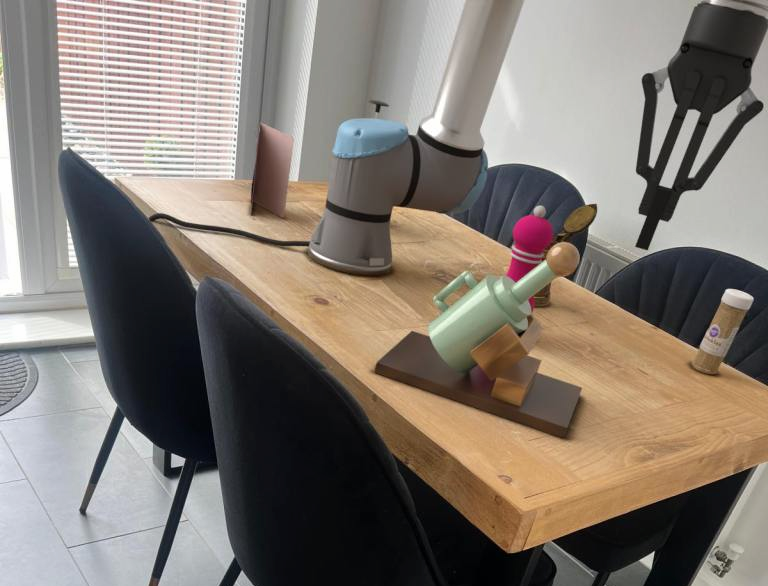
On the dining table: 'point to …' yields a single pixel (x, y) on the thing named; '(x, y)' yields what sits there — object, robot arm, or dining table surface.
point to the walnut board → (479, 386)
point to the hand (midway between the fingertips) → (642, 246)
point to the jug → (492, 306)
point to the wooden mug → (572, 227)
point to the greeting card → (272, 169)
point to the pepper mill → (529, 245)
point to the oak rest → (510, 361)
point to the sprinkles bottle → (722, 331)
